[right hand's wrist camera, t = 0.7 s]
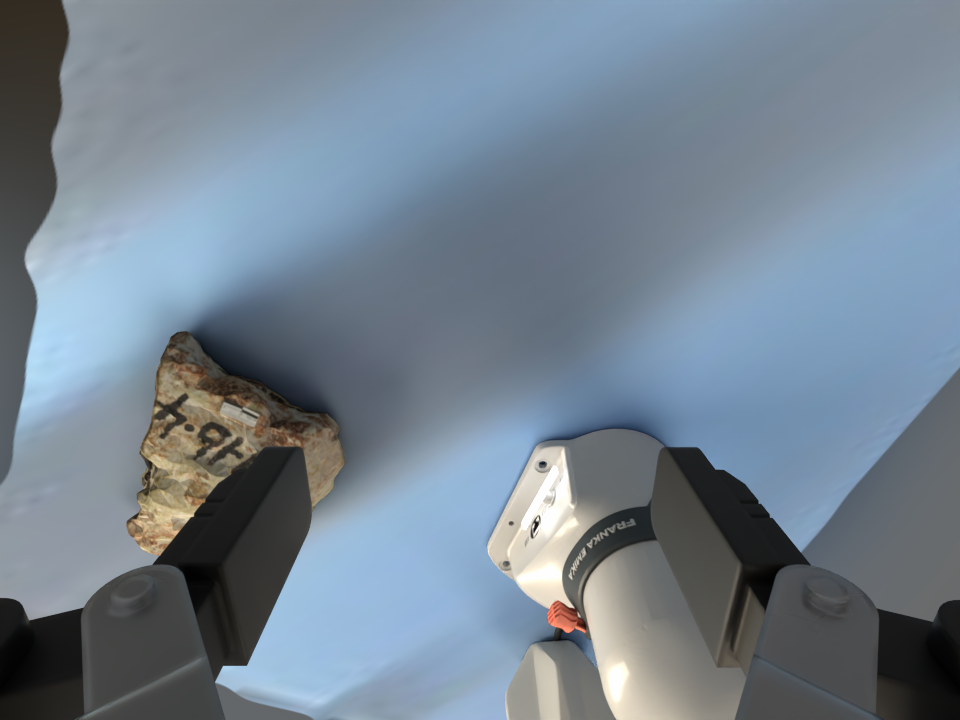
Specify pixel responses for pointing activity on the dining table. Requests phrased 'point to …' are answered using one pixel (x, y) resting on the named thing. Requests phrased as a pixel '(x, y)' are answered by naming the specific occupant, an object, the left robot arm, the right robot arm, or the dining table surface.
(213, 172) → the dining table surface
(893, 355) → the dining table surface
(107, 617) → the right robot arm
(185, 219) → the dining table surface
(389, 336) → the dining table surface
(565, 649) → the vase
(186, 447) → the stone
